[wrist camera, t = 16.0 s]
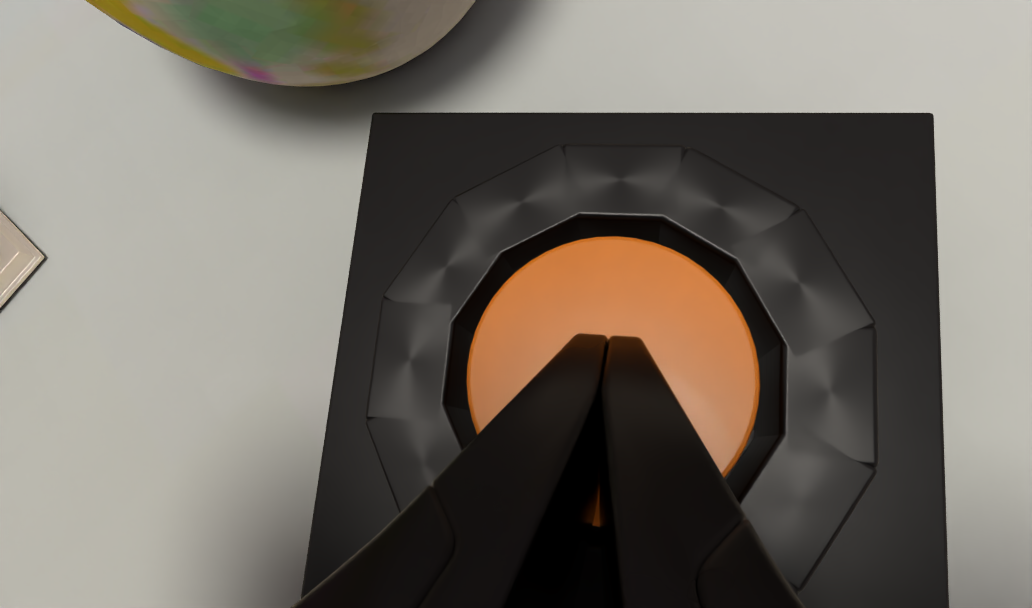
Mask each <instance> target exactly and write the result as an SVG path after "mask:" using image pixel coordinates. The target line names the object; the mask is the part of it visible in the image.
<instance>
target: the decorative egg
mask: <svg viewBox="0 0 1032 608" xmlns="http://www.w3.org/2000/svg"><path fill="white" fill-rule="evenodd" d="M86 1H87V2H89V3H90V4H92V5H93V6H95V7H96V8H97V9H99V10H100V11H102V12H103V13H105V14H106V15H108V16H109V17H111V18H112V19H114V20H115V21H116V22H118V23H119V24H121V25H122V26H124V27H126V28H128V29H129V30H131V31H133V32H135V33H136V34H138V35H140V36H142V37H143V38H145V39H147V40H149V41H150V42H152V43H154V44H156V45H158V46H159V47H162V48H164V49H166V50H168V51H170V52H172V53H174V54H177V55H179V56H181V57H183V58H185V59H188V60H190V61H192V62H194V63H197V64H199V65H201V66H204V67H207V68H211V69H214V70H217V71H220V72H224V73H227V74H230V75H234V76H237V77H241V78H245V79H249V80H253V81H258V82H263V83H269V84H274V85H287V86H301V87H303V86H327V85H335V84H343V83H348V82H353V81H357V80H362V79H366V78H370V77H374V76H376V75H379V74H382V73H385V72H387V71H390V70H392V69H394V68H397V67H399V66H401V65H403V64H405V63H406V62H408V61H410V60H412V59H413V58H415V57H417V56H418V55H420V54H422V53H423V52H425V51H427V50H428V49H429V48H431V47H432V46H433V45H434V44H435V43H437V42H438V41H439V40H440V39H442V38H443V37H444V36H445V35H446V34H447V33H448V32H449V31H450V30H451V29H452V28H453V27H454V26H455V25H456V24H457V23H458V22H459V21H460V20H461V19H462V17H463V16H464V15H465V14H466V12H467V11H468V10H469V9H470V7H471V6H472V5H473V4H474V2H475V1H476V0H86Z"/></svg>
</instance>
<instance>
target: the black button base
mask: <svg viewBox="0 0 1032 608" xmlns="http://www.w3.org/2000/svg"><path fill="white" fill-rule="evenodd" d="M607 236H620V237H630V238H637V239H642V240H646V241H651V242H654V243H657V244H660V245H663V246H665V247H668V248H671V249H673V250H675V251H677V252H679V253H681V254H683V255H685V256H687V257H688V258H690V259H691V260H693V261H694V262H696V263H697V264H699V265H700V266H702V267H703V268H704V269H705V270H706V271H708V272H709V273H710V274H711V275H712V276H713V277H714V278H715V279H717V280H718V281H719V283H720V284H721V285H722V286H723V287H724V288H725V289H726V291H727V292H728V293H729V294H730V295H731V297H732V298H733V300H734V301H735V303H736V304H737V306H738V307H739V309H740V310H741V312H742V314H743V316H744V318H745V320H746V323H747V325H748V327H749V329H750V332H751V335H752V338H753V341H754V344H755V347H756V352H757V357H758V363H759V371H760V395H759V406H758V411H757V415H756V419H755V423H754V427H753V430H752V432H751V435H750V437H749V440H748V442H747V445H746V447H745V449H744V450H743V452H742V454H741V456H740V457H739V459H738V461H737V463H736V464H735V465H734V467H733V468H732V469H731V471H730V472H729V473H728V475H727V476H726V477H725V478H724V479H725V480H726V482H727V484H728V485H729V487H730V489H731V490H732V492H733V494H734V496H735V497H736V499H737V501H738V502H739V504H740V506H741V507H742V509H743V511H744V512H745V514H746V520H749V521H750V522H751V524H752V525H753V527H754V529H755V530H756V532H757V534H758V535H759V537H760V539H761V540H762V542H763V544H764V546H765V547H766V549H767V550H768V552H769V554H770V555H771V557H772V558H773V560H774V561H775V563H776V565H777V566H778V568H779V569H780V571H781V572H782V574H783V575H784V577H785V579H786V580H787V582H788V583H789V585H790V586H791V588H792V589H793V591H794V592H795V594H796V595H797V596H798V598H799V599H800V600H801V602H802V603H803V605H804V606H805V607H806V608H949V592H948V560H947V529H946V497H945V466H944V434H943V403H942V371H941V339H940V308H939V276H938V245H937V213H936V182H935V150H934V118H933V114H931V113H373V115H372V122H371V128H370V135H369V142H368V149H367V155H366V162H365V169H364V176H363V182H362V189H361V196H360V203H359V209H358V216H357V223H356V230H355V236H354V243H353V250H352V257H351V264H350V270H349V277H348V284H347V291H346V297H345V304H344V311H343V318H342V324H341V331H340V338H339V345H338V351H337V358H336V365H335V372H334V378H333V385H332V392H331V399H330V405H329V412H328V419H327V426H326V432H325V439H324V446H323V453H322V459H321V466H320V473H319V480H318V486H317V493H316V500H315V507H314V513H313V520H312V527H311V534H310V540H309V547H308V554H307V561H306V567H305V574H304V581H303V588H302V594H301V599H302V598H303V597H304V596H305V595H307V594H308V593H309V592H310V591H311V590H313V589H314V588H315V587H316V586H318V585H319V584H320V583H321V582H322V581H324V580H325V579H326V578H327V577H329V576H330V575H331V574H332V573H333V572H335V571H336V570H337V569H338V568H339V567H341V566H342V565H343V564H344V563H345V562H346V561H348V560H349V559H350V558H351V557H352V556H353V555H355V554H356V553H357V552H358V551H359V550H360V549H361V548H363V547H364V546H365V545H366V544H367V543H368V542H370V541H371V540H372V539H373V538H374V537H375V536H377V535H378V534H379V533H380V532H381V531H382V530H383V529H384V528H385V527H386V526H387V525H388V524H389V523H390V522H391V521H392V520H393V519H394V518H395V517H396V516H397V515H398V514H399V513H400V512H402V511H403V510H404V509H405V508H406V507H407V506H408V505H409V504H410V503H411V502H412V501H413V500H414V499H415V498H416V497H417V496H418V495H419V494H420V493H421V491H422V490H423V489H424V488H425V487H426V486H428V485H431V486H432V481H433V480H434V479H435V478H436V477H437V476H438V475H439V473H440V472H441V471H442V470H443V469H444V468H445V467H446V466H447V465H448V464H449V463H450V462H451V461H452V460H453V459H454V458H455V457H456V456H457V455H458V454H459V453H460V452H461V451H462V450H463V449H464V448H465V447H466V446H467V445H468V444H469V443H470V442H471V441H472V440H473V439H474V438H475V437H476V436H477V433H476V430H475V427H474V424H473V421H472V418H471V413H470V408H469V404H468V395H467V363H468V358H469V352H470V346H471V343H472V340H473V337H474V333H475V330H476V328H477V325H478V323H479V321H480V319H481V317H482V314H483V312H484V311H485V309H486V307H487V306H488V304H489V303H490V301H491V299H492V298H493V296H494V295H495V294H496V293H497V291H498V290H499V289H500V288H501V286H502V285H503V284H504V283H505V282H506V281H507V280H508V279H509V278H510V277H511V276H512V275H513V274H514V273H515V272H516V271H517V270H519V269H520V268H521V267H523V266H524V265H525V264H527V263H528V262H529V261H531V260H532V259H534V258H536V257H538V256H539V255H541V254H543V253H544V252H546V251H549V250H551V249H553V248H556V247H558V246H560V245H563V244H566V243H570V242H573V241H577V240H580V239H587V238H593V237H607ZM574 608H604V605H603V584H602V562H601V541H600V527H597V526H592V530H591V535H590V539H589V544H588V548H587V553H586V557H585V562H584V566H583V571H582V575H581V580H580V584H579V589H578V593H577V598H576V602H575V607H574Z"/></svg>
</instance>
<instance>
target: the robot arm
mask: <svg viewBox="0 0 1032 608" xmlns="http://www.w3.org/2000/svg"><path fill="white" fill-rule="evenodd" d="M598 493H599V519H600V541H601V562H602V584H603V605H604V608H806V607H805V606H804V605H803V603H802V602H801V600H800V599H799V598H798V596H797V595H796V594H795V592H794V591H793V589H792V588H791V586H790V585H789V583H788V582H787V580H786V579H785V577H784V575H783V574H782V572H781V571H780V569H779V568H778V566H777V565H776V563H775V561H774V560H773V558H772V557H771V555H770V554H769V552H768V550H767V549H766V547H765V546H764V544H763V542H762V540H761V539H760V537H759V535H758V534H757V532H756V530H755V529H754V527H753V525H752V524H751V522H750V521H749V520H746V514H745V512H744V511H743V509H742V507H741V506H740V504H739V502H738V501H737V499H736V497H735V496H734V494H733V492H732V490H731V489H730V487H729V485H728V484H727V482H726V480H725V479H724V477H723V475H722V474H721V472H720V470H719V469H718V467H717V465H716V463H715V462H714V460H713V458H712V457H711V455H710V453H709V452H708V450H707V448H706V447H705V445H704V443H703V442H702V440H701V438H700V436H699V435H698V433H697V431H696V430H695V428H694V426H693V425H692V423H691V421H690V420H689V418H688V416H687V415H686V413H685V411H684V409H683V408H682V406H681V404H680V403H679V401H678V399H677V398H676V396H675V394H674V393H673V391H672V389H671V388H670V386H669V384H668V382H667V381H666V379H665V377H664V376H663V374H662V372H661V371H660V369H659V367H658V366H657V364H656V362H655V361H654V359H653V357H652V355H651V354H650V352H649V350H648V349H647V347H646V345H645V344H644V342H643V341H642V339H641V338H639V337H634V336H617V335H614V336H611V337H610V338H609V339H608V338H607V337H606V336H605V335H600V334H584V333H578V334H576V335H575V336H574V337H573V338H572V339H571V340H570V341H569V342H568V343H567V344H566V345H565V346H564V347H563V348H562V349H561V350H560V351H559V352H558V353H557V354H556V355H555V356H554V357H553V358H552V359H551V360H550V361H549V362H548V363H547V364H546V365H545V366H544V367H543V368H542V369H541V370H540V371H539V372H538V373H537V374H536V375H535V376H534V377H533V378H532V379H531V381H530V382H529V383H528V384H527V385H526V386H525V387H524V388H523V389H522V390H521V391H520V392H519V393H518V394H517V395H516V396H515V397H514V398H513V399H512V400H511V401H510V402H509V403H508V404H507V405H506V406H505V407H504V408H503V409H502V410H501V411H500V412H499V413H498V414H497V415H496V416H495V417H494V418H493V419H492V420H491V421H490V422H489V423H488V424H487V425H486V426H485V428H484V429H483V430H482V431H481V432H480V433H479V434H478V435H477V436H476V437H475V438H474V439H473V440H472V441H471V442H470V443H469V444H468V445H467V446H466V447H465V448H464V449H463V450H462V451H461V452H460V453H459V454H458V455H457V456H456V457H455V458H454V459H453V460H452V461H451V462H450V463H449V464H448V465H447V466H446V467H445V468H444V469H443V470H442V471H441V472H440V473H439V475H438V476H437V477H436V478H435V479H434V480H433V481H432V486H431V485H428V486H426V487H425V488H424V489H423V490H422V491H421V493H420V494H419V495H418V496H417V497H416V498H415V499H414V500H413V501H412V502H411V503H410V504H409V505H408V506H407V507H406V508H405V509H404V510H403V511H402V512H400V513H399V514H398V515H397V516H396V517H395V518H394V519H393V520H392V521H391V522H390V523H389V524H388V525H387V526H386V527H385V528H384V529H383V530H382V531H381V532H380V533H379V534H378V535H377V536H375V537H374V538H373V539H372V540H371V541H370V542H368V543H367V544H366V545H365V546H364V547H363V548H361V549H360V550H359V551H358V552H357V553H356V554H355V555H353V556H352V557H351V558H350V559H349V560H348V561H346V562H345V563H344V564H343V565H342V566H341V567H339V568H338V569H337V570H336V571H335V572H333V573H332V574H331V575H330V576H329V577H327V578H326V579H325V580H324V581H322V582H321V583H320V584H319V585H318V586H316V587H315V588H314V589H313V590H311V591H310V592H309V593H308V594H307V595H305V596H304V597H303V598H302V599H301V600H299V601H298V602H297V603H296V604H294V605H293V606H292V607H291V608H574V607H575V602H576V598H577V593H578V589H579V584H580V580H581V575H582V571H583V566H584V562H585V557H586V553H587V548H588V544H589V539H590V535H591V530H592V526H593V521H594V516H595V511H596V506H597V501H598Z"/></svg>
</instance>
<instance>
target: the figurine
mask: <svg viewBox="0 0 1032 608" xmlns="http://www.w3.org/2000/svg"><path fill="white" fill-rule="evenodd" d="M44 258H45V257H44V255H43V254H42V253H41V252H40V251H39V250H38V249H37V248H36V247H35V246H34V245H33V244H32V243H31V242H30V241H29V240H28V239H27V238H26V237H25V236H24V235H23V234H22V233H21V232H20V230H19V229H18V228H17V227H16V226H15V225H14V224H13V223H12V222H11V221H10V220H9V219H8V218H7V217H6V216H5V215H4V214H3V213H2V212H1V211H0V308H1V306H2V305H3V304H4V303H5V302H6V301H7V300H8V298H9V297H10V296H11V295H12V294H13V293H14V292H15V291H16V289H17V288H18V287H19V286H20V285H21V284H22V283H23V281H24V280H25V279H26V278H27V277H28V276H29V275H30V274H31V272H32V271H33V270H34V269H35V268H36V267H37V266H38V264H39V263H40V262H41V261H42V260H43V259H44Z"/></svg>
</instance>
